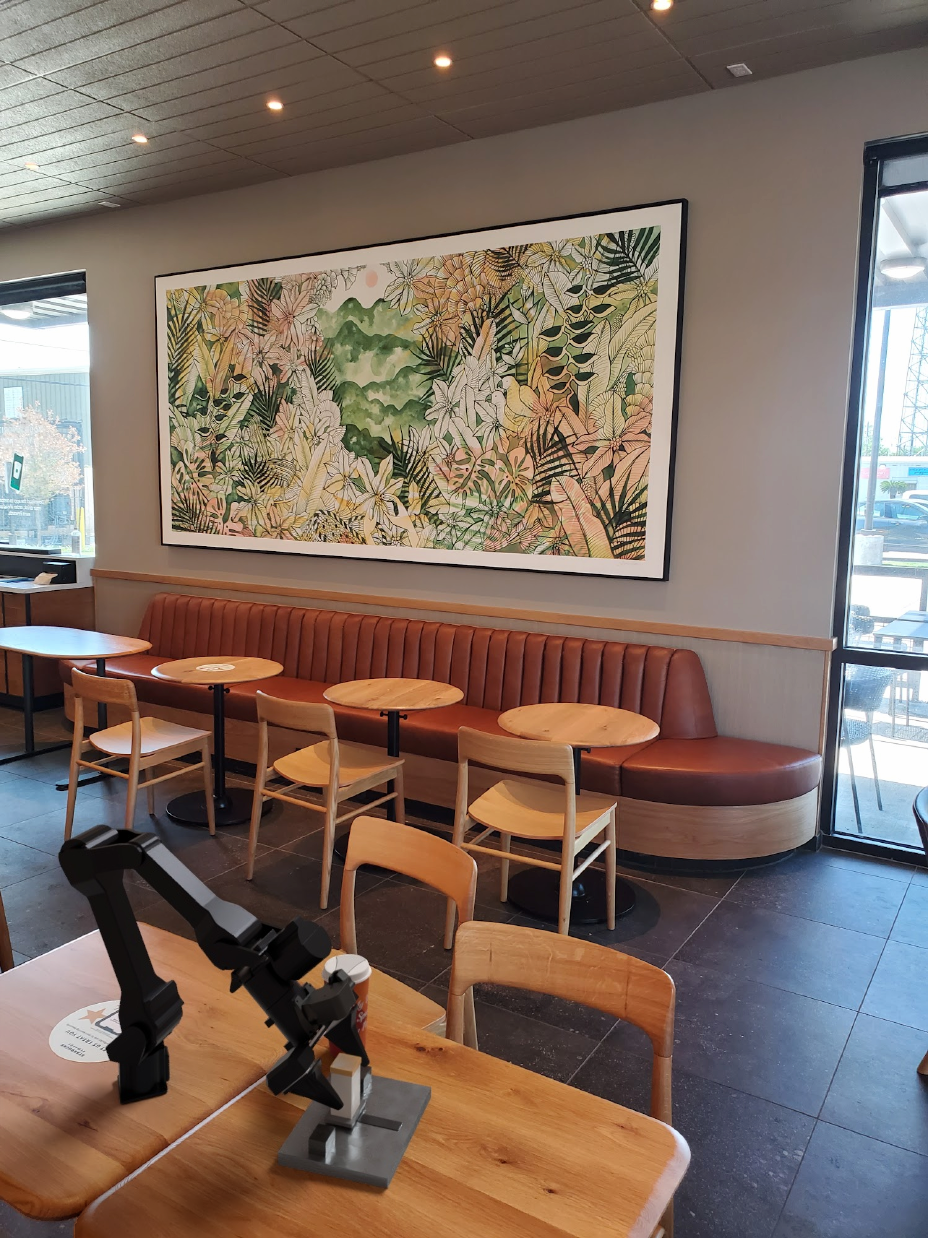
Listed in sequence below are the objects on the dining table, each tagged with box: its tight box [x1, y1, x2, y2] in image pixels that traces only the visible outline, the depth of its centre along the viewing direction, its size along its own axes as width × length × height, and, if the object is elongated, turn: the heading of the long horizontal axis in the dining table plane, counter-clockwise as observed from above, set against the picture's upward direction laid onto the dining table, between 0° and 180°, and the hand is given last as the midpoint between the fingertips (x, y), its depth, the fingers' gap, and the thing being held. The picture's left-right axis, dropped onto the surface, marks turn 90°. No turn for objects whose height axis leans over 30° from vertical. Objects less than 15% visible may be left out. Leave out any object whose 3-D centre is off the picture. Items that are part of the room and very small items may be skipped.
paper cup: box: [321, 953, 372, 1059], centre depth 137 cm, size 8×8×14 cm
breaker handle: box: [324, 1053, 366, 1128], centre depth 120 cm, size 4×5×8 cm
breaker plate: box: [277, 1065, 432, 1189], centre depth 120 cm, size 15×18×4 cm
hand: (354, 1086), depth 119 cm, fingers open, 9 cm apart
